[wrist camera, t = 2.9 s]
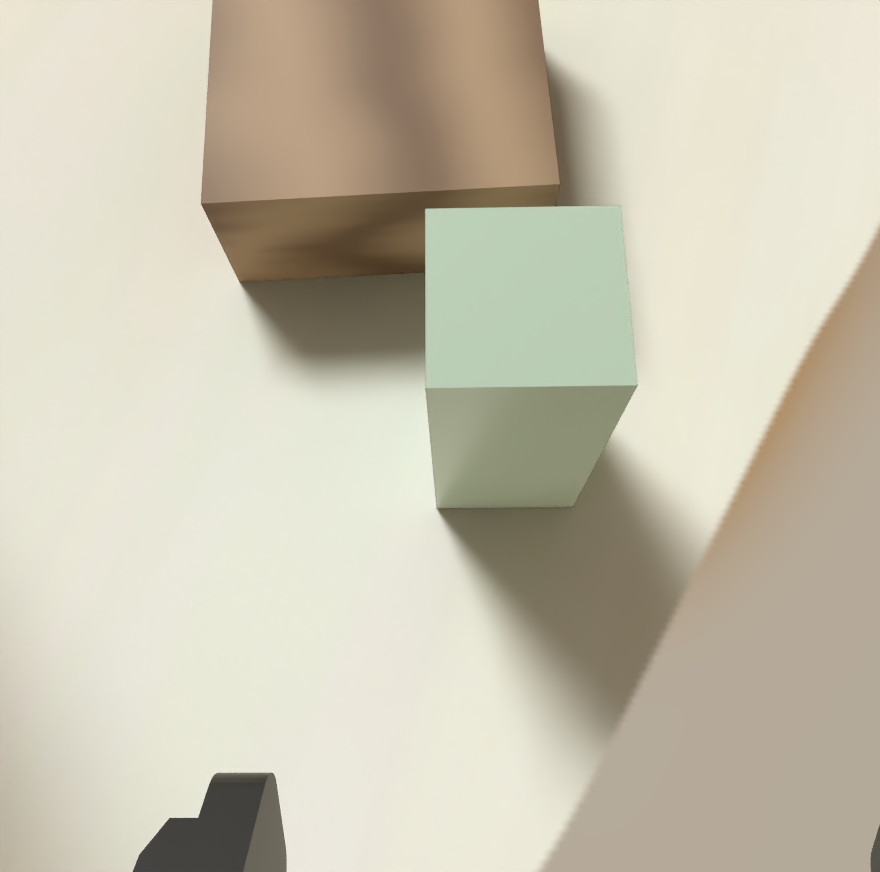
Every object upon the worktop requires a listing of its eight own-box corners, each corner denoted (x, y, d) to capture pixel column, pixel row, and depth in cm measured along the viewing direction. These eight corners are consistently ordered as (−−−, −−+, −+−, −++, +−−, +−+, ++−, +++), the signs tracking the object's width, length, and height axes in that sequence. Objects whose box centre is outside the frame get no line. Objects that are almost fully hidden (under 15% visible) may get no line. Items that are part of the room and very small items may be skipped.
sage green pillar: (436, 508, 26) (425, 387, 17) (435, 383, 28) (425, 208, 18) (572, 506, 26) (637, 385, 17) (564, 381, 28) (620, 205, 18)
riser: (241, 286, 30) (201, 203, 25) (250, 50, 33) (216, -61, 29) (543, 270, 30) (560, 183, 25) (518, 35, 33) (528, -78, 29)
